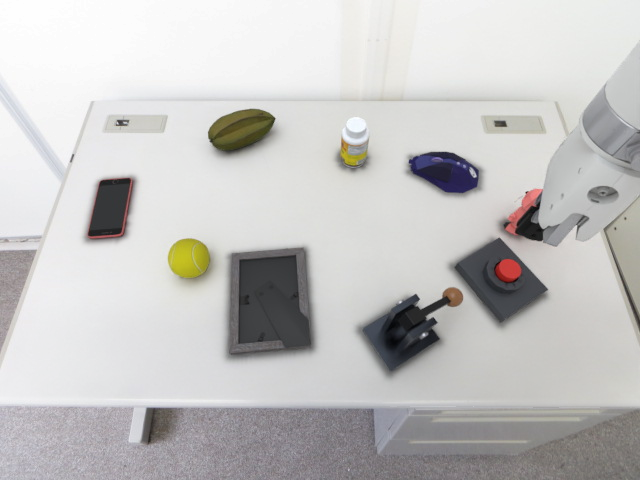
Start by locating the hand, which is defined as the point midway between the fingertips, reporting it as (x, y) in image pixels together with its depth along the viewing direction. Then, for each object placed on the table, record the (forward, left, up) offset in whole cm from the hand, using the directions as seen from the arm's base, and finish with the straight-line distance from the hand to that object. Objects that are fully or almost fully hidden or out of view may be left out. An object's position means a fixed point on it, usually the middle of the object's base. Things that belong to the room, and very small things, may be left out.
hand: (528, 232), depth 46 cm
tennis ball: (+30, +39, -24) cm, 55 cm away
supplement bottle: (+36, 0, -24) cm, 43 cm away
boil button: (-1, -7, -20) cm, 21 cm away
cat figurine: (+5, -18, -24) cm, 30 cm away
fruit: (+53, +18, -24) cm, 61 cm away
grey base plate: (-1, -7, -23) cm, 25 cm away
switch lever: (0, +10, -17) cm, 20 cm away
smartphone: (+51, +49, -24) cm, 74 cm away
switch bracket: (0, +14, -23) cm, 27 cm away
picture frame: (+17, +30, -24) cm, 42 cm away
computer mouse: (+23, -14, -24) cm, 36 cm away
